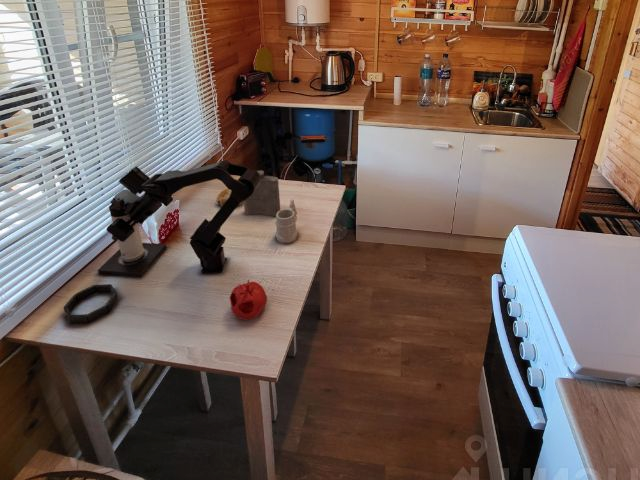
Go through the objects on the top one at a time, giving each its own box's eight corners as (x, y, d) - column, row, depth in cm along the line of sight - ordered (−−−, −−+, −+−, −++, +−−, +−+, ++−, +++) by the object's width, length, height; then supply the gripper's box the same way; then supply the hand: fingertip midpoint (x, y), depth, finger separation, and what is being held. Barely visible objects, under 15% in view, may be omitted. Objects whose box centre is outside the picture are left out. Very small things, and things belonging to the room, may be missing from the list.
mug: (272, 241, 134) (269, 212, 129) (286, 222, 144) (284, 195, 140) (292, 245, 132) (290, 216, 127) (305, 226, 142) (304, 198, 138)
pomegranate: (249, 291, 112) (246, 265, 109) (275, 304, 108) (272, 278, 104) (222, 314, 104) (218, 287, 101) (249, 330, 100) (245, 303, 96)
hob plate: (166, 247, 130) (165, 243, 130) (141, 277, 117) (140, 272, 117) (128, 245, 131) (126, 241, 131) (98, 274, 118) (97, 269, 118)
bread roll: (235, 217, 154) (241, 201, 151) (210, 207, 152) (217, 191, 150) (242, 203, 163) (248, 189, 160) (219, 194, 161) (225, 179, 159)
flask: (247, 209, 153) (242, 169, 146) (282, 211, 152) (279, 170, 145) (243, 214, 149) (239, 173, 143) (279, 216, 148) (276, 175, 142)
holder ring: (125, 290, 112) (123, 283, 111) (102, 323, 101) (100, 316, 100) (84, 291, 111) (82, 285, 111) (57, 324, 101) (54, 317, 100)
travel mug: (124, 265, 119) (109, 210, 112) (121, 254, 124) (106, 201, 117) (146, 257, 123) (133, 203, 116) (142, 247, 128) (129, 195, 121)
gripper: (146, 170, 123) (121, 198, 127) (105, 201, 105) (78, 232, 110) (173, 193, 125) (148, 219, 130) (137, 227, 107) (109, 256, 112)
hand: (122, 230), depth 120 cm, fingers open, 8 cm apart
